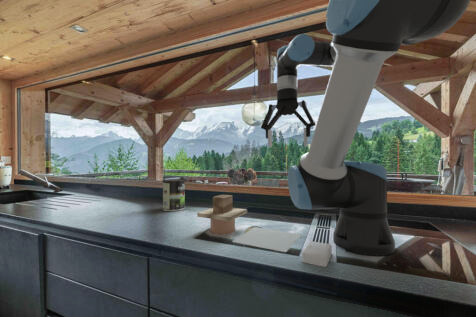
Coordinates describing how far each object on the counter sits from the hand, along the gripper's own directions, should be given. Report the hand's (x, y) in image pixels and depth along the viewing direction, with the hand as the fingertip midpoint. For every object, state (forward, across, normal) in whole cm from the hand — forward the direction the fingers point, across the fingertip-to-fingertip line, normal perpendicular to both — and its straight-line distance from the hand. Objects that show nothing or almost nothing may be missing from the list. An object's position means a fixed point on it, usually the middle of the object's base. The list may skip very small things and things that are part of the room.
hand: (287, 146), depth 88 cm
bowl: (+29, +16, +20) cm, 38 cm away
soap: (+29, -16, +27) cm, 43 cm away
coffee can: (+29, +55, +2) cm, 62 cm away
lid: (+23, +16, +20) cm, 35 cm away
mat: (+29, 0, +20) cm, 35 cm away
